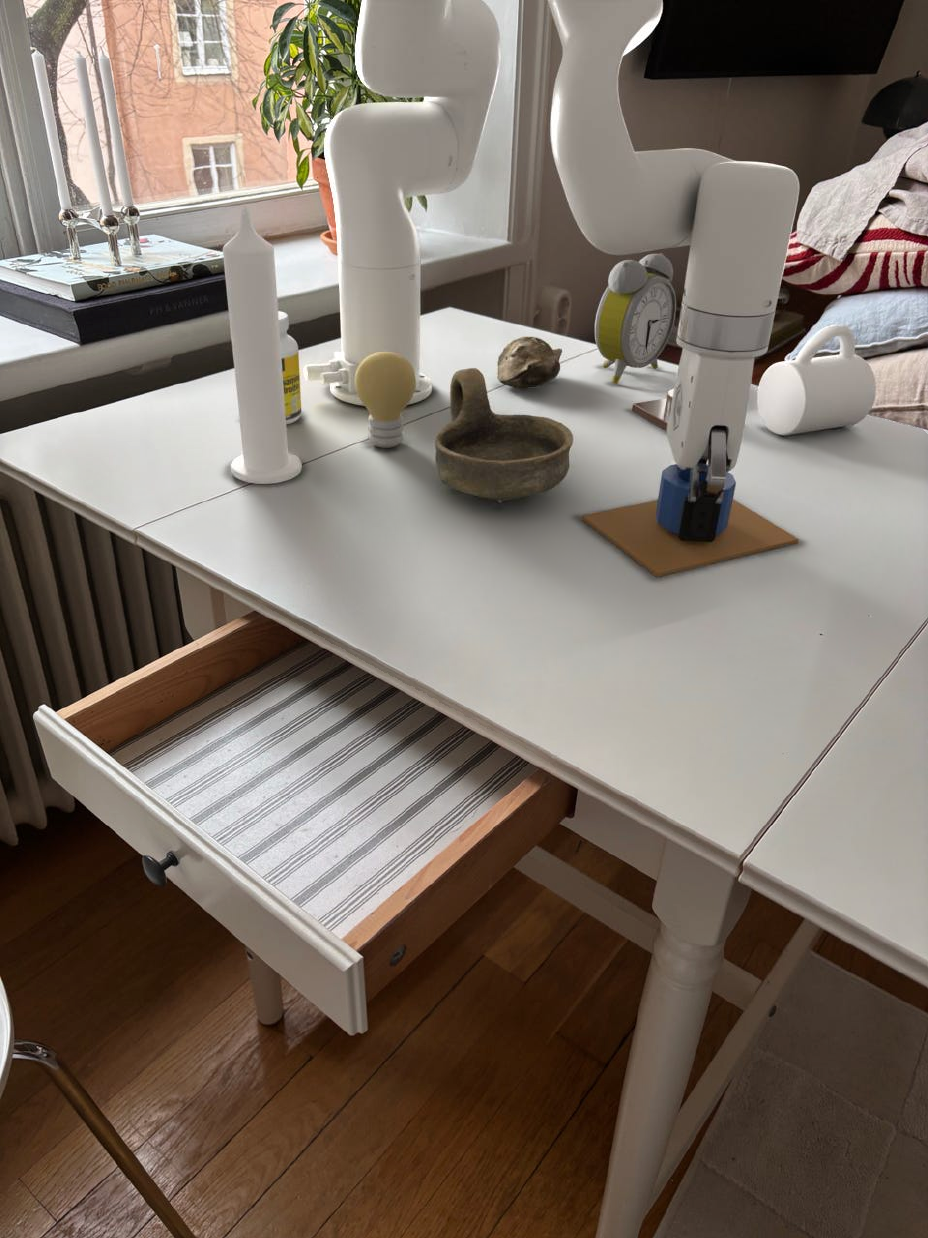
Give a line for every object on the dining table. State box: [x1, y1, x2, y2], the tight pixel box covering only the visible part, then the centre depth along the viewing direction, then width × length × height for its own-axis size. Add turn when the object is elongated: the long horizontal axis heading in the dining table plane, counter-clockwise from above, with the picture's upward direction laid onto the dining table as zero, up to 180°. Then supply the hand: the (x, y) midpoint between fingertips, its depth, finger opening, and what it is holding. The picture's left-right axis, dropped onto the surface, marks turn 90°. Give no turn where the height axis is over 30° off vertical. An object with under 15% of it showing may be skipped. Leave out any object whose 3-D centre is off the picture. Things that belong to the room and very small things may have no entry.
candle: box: [222, 206, 303, 485], centre depth 91 cm, size 7×7×25 cm
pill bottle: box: [278, 310, 302, 425], centre depth 107 cm, size 6×6×12 cm
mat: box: [581, 498, 800, 578], centre depth 89 cm, size 16×12×1 cm
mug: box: [756, 324, 877, 437], centre depth 110 cm, size 8×10×12 cm
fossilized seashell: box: [496, 336, 563, 390], centre depth 122 cm, size 8×7×10 cm
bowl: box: [434, 367, 574, 503], centre depth 94 cm, size 14×18×10 cm
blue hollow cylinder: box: [656, 463, 737, 535], centre depth 88 cm, size 6×6×4 cm
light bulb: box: [355, 352, 416, 449], centre depth 102 cm, size 6×6×10 cm
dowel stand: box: [631, 388, 674, 432], centre depth 112 cm, size 9×9×8 cm
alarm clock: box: [594, 252, 677, 385], centre depth 124 cm, size 12×7×15 cm, turn 137°
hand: (690, 520), depth 89 cm, fingers closed on blue hollow cylinder, 6 cm apart
